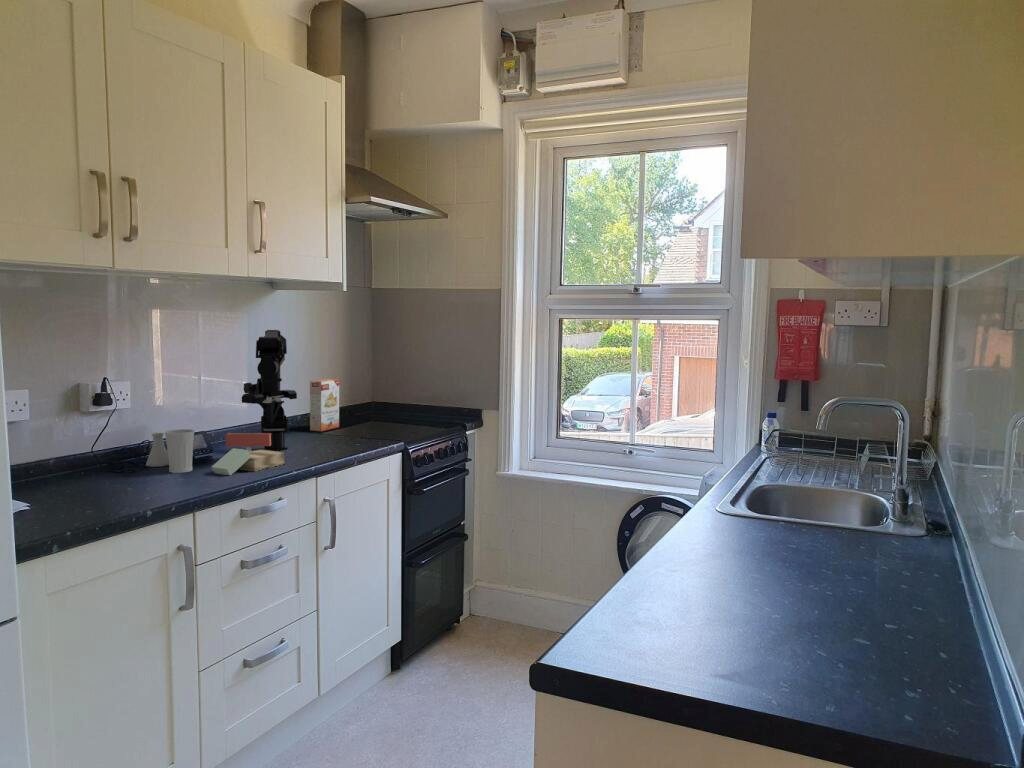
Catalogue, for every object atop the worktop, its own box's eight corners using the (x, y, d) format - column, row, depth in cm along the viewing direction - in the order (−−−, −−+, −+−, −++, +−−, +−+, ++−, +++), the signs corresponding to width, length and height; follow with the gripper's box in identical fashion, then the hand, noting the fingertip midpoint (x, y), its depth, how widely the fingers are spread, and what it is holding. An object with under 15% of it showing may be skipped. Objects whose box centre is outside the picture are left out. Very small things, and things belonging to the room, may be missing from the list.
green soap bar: (236, 454, 216) (232, 448, 215) (251, 456, 213) (248, 450, 212) (215, 473, 210) (211, 466, 208) (230, 475, 206) (226, 469, 205)
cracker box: (322, 432, 290) (321, 381, 288) (309, 431, 291) (308, 380, 290) (340, 427, 303) (339, 379, 301) (328, 426, 305) (327, 378, 303)
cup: (199, 470, 213) (198, 431, 212) (172, 474, 207) (170, 434, 206) (189, 466, 218) (188, 428, 217) (162, 470, 213) (160, 431, 212)
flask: (176, 463, 224) (175, 432, 223) (163, 467, 217) (162, 435, 216) (154, 462, 224) (153, 431, 224) (140, 467, 217) (139, 435, 216)
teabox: (261, 461, 227) (261, 449, 227) (284, 464, 223) (284, 452, 222) (230, 468, 217) (230, 455, 216) (254, 471, 212) (254, 458, 212)
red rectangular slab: (226, 455, 231) (225, 434, 231) (228, 454, 233) (227, 433, 233) (269, 455, 232) (269, 434, 232) (271, 454, 234) (270, 433, 234)
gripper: (273, 372, 242) (274, 417, 243) (228, 375, 225) (230, 424, 227) (297, 374, 237) (298, 420, 238) (253, 377, 220) (254, 427, 222)
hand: (270, 422), depth 231 cm, fingers closed
